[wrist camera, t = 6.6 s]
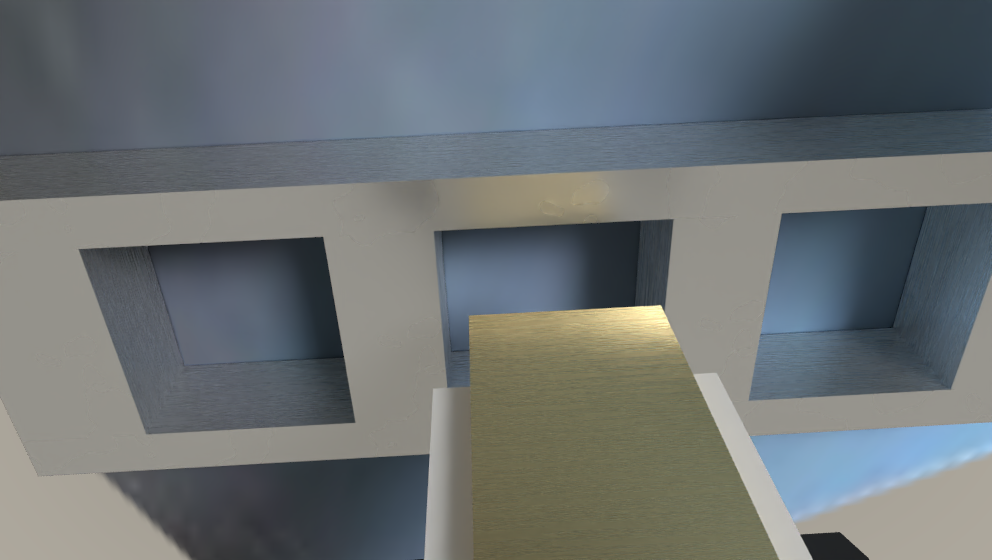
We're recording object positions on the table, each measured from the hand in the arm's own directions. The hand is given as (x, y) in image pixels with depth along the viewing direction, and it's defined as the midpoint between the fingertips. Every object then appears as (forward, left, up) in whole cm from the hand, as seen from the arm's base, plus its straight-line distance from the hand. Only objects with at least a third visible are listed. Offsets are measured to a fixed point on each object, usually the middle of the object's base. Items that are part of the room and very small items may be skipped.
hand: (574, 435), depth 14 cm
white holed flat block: (0, 0, -7) cm, 7 cm away
